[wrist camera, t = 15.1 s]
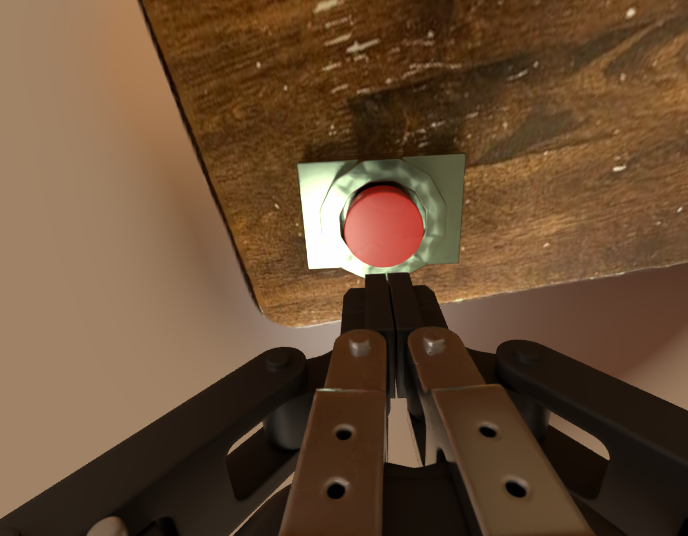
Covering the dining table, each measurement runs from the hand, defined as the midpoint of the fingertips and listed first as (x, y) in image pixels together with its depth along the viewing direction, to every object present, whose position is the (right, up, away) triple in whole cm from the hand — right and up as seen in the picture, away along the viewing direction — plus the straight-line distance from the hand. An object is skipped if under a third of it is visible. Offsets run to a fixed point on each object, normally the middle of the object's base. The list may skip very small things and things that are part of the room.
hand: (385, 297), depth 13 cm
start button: (+1, +4, +9) cm, 10 cm away
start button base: (+1, +5, +12) cm, 14 cm away
